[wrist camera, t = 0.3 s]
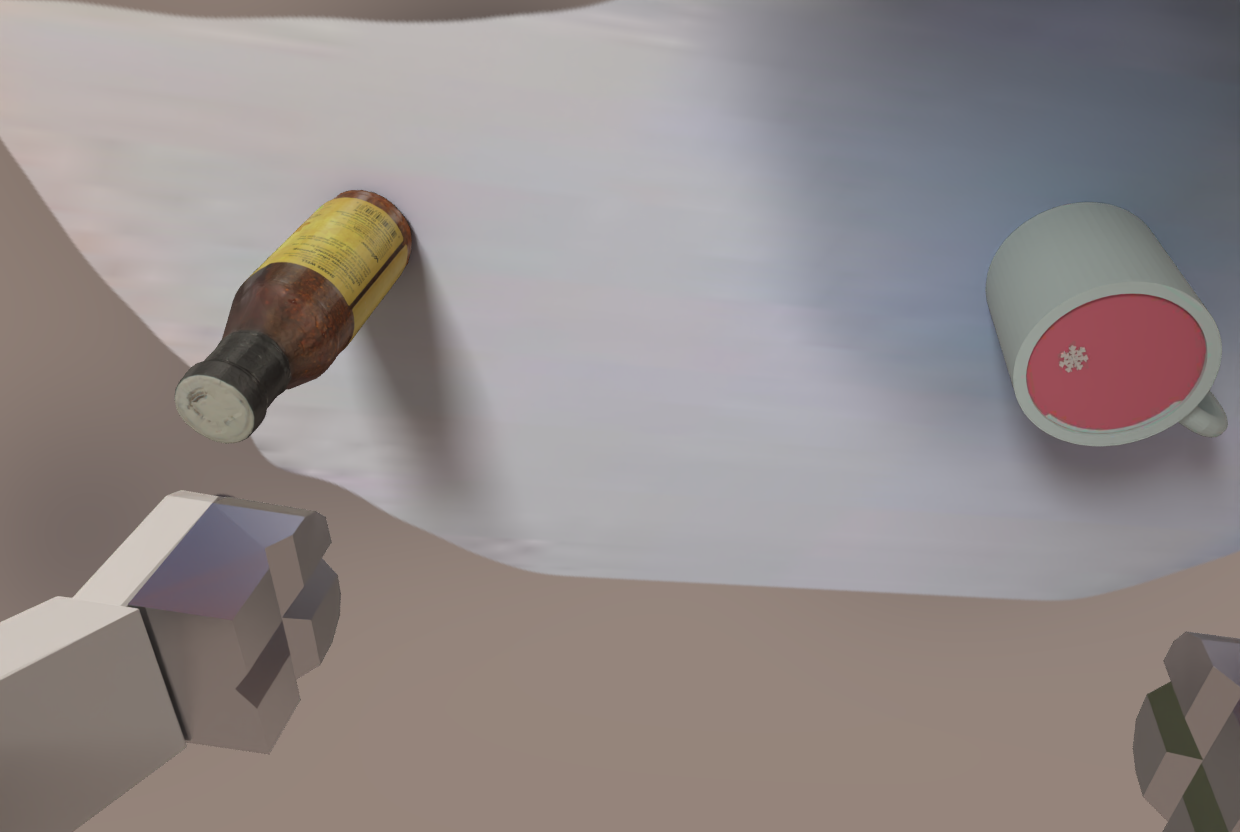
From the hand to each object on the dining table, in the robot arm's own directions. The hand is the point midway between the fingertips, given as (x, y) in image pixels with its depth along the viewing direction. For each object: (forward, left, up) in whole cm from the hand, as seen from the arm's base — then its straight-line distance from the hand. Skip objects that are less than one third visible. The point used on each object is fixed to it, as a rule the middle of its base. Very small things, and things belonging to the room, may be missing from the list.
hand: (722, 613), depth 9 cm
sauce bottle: (+19, -24, -47) cm, 56 cm away
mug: (+17, +20, -47) cm, 54 cm away
